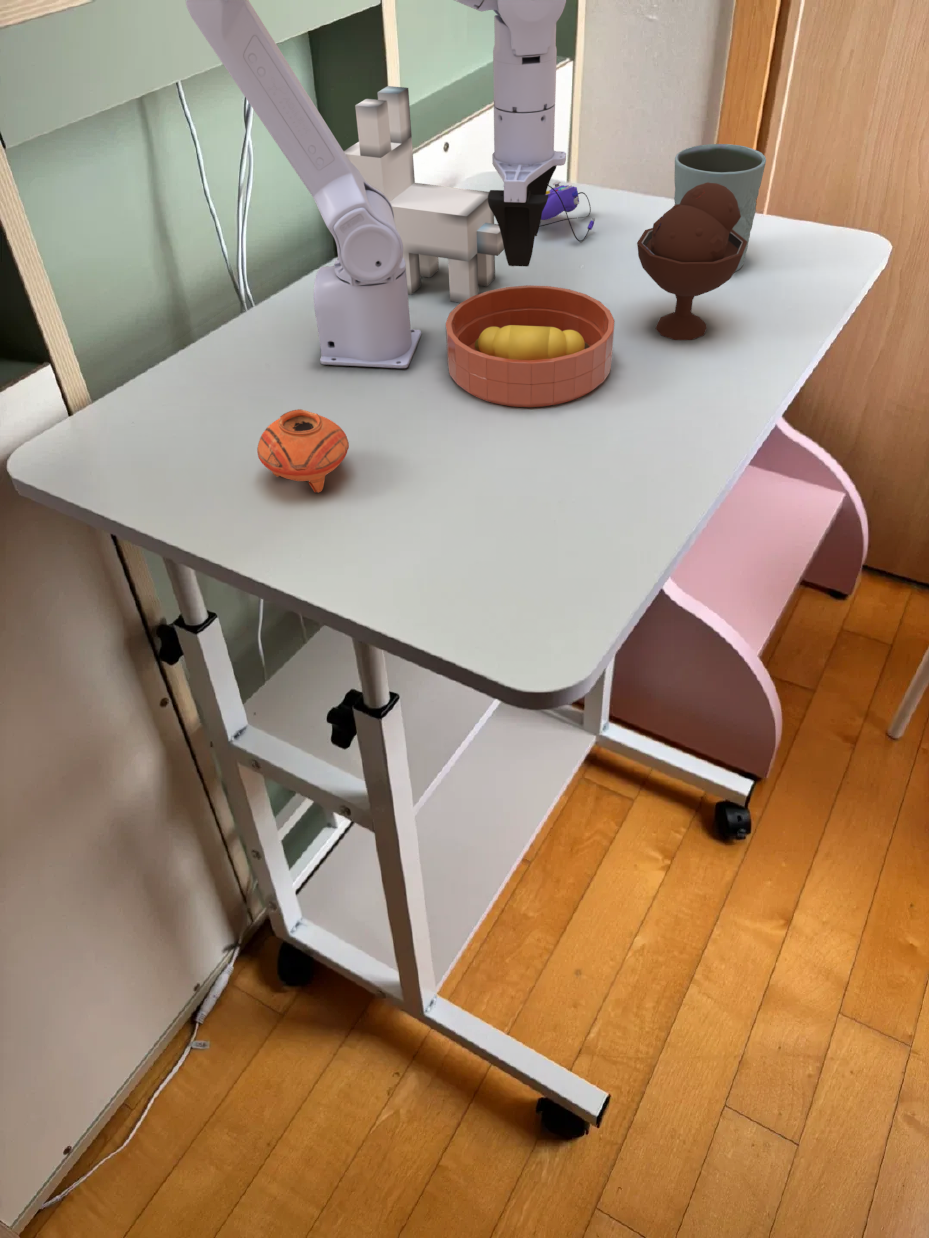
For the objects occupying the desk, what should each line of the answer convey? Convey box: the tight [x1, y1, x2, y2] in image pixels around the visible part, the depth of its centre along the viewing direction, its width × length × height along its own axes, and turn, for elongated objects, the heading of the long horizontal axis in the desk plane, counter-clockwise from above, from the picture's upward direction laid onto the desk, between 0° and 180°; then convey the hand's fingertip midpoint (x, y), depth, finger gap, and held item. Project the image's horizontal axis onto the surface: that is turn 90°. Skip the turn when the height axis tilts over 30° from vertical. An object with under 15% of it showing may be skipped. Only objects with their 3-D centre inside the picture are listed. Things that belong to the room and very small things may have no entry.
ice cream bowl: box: [636, 182, 747, 341], centre depth 99 cm, size 11×11×15 cm
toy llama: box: [343, 85, 505, 304], centre depth 108 cm, size 8×18×20 cm, turn 66°
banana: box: [475, 325, 590, 360], centre depth 98 cm, size 12×4×4 cm, turn 81°
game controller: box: [539, 181, 596, 242], centre depth 124 cm, size 10×8×10 cm
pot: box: [256, 408, 350, 494], centre depth 84 cm, size 8×8×7 cm
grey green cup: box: [673, 143, 767, 273], centre depth 113 cm, size 10×10×12 cm
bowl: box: [445, 284, 615, 408], centre depth 98 cm, size 17×17×5 cm
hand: (523, 249), depth 98 cm, fingers open, 7 cm apart
